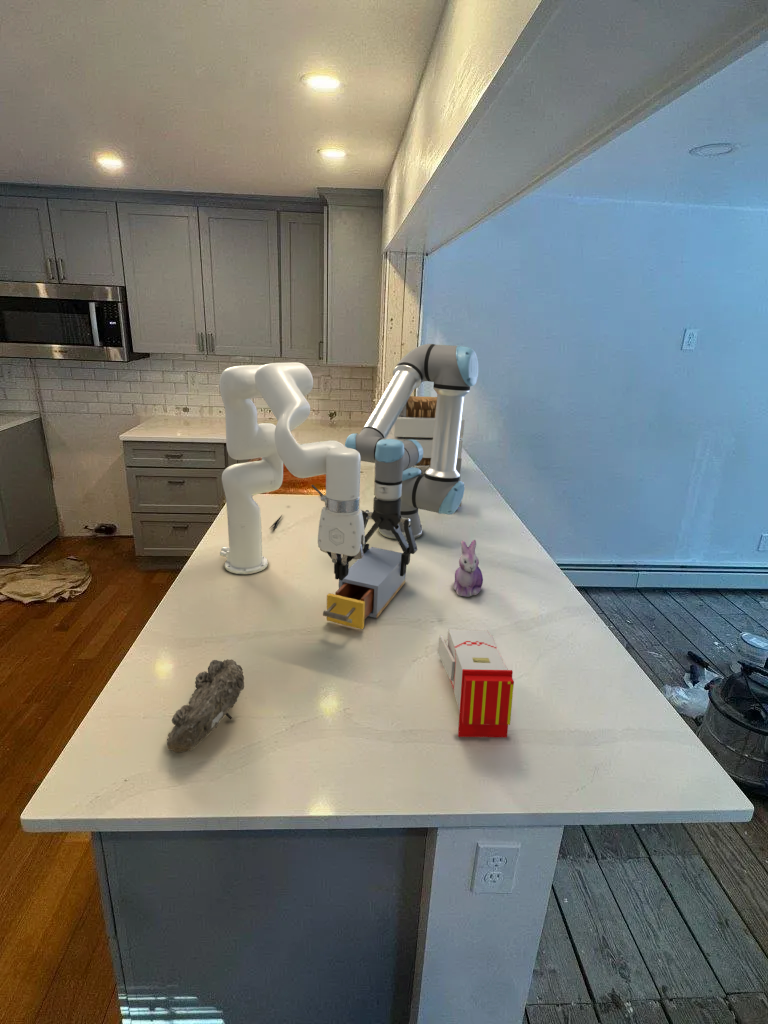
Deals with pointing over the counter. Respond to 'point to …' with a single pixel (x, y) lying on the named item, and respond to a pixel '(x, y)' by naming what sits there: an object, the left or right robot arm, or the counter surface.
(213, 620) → the counter surface
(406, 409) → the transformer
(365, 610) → the drawer
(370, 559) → the cabinet
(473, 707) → the toy
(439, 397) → the right robot arm
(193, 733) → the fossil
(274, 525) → the feather
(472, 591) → the figurine
